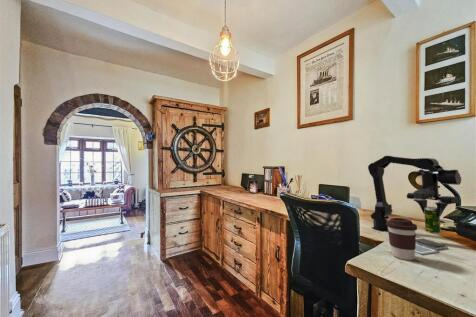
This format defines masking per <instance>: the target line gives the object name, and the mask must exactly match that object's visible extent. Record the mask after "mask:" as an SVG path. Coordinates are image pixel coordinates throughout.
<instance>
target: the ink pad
mask: <svg viewBox="0 0 476 317" xmlns="http://www.w3.org/2000/svg"><path fill="white" fill-rule="evenodd" d="M416 244H417V245H420V246H423V247H427V248H430V249H433V250H436V251H440V250H441V251H442V250H447V249H448V248H449V246H448V245H446V244H443V243H440V242H436V241H433V240H430V239H427V238H416Z"/></svg>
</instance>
